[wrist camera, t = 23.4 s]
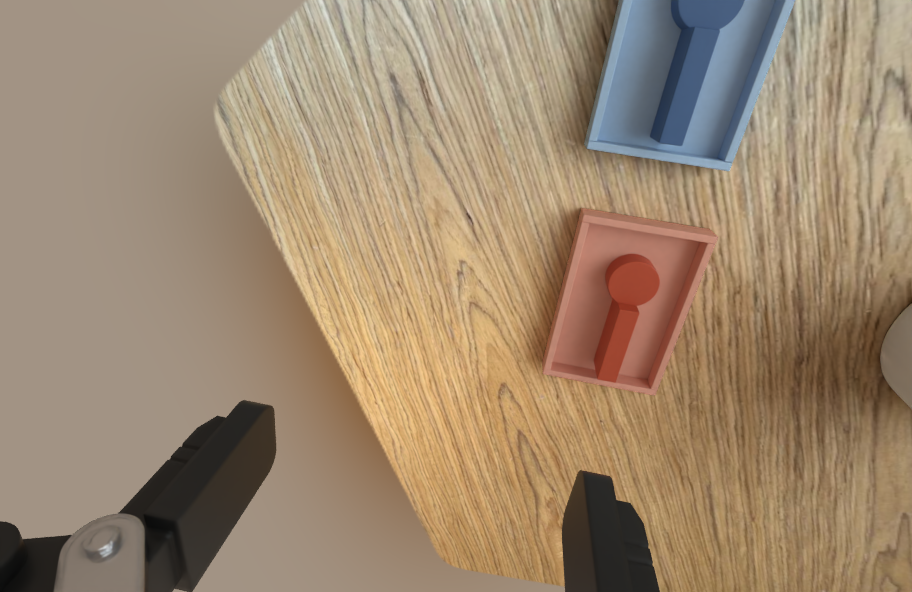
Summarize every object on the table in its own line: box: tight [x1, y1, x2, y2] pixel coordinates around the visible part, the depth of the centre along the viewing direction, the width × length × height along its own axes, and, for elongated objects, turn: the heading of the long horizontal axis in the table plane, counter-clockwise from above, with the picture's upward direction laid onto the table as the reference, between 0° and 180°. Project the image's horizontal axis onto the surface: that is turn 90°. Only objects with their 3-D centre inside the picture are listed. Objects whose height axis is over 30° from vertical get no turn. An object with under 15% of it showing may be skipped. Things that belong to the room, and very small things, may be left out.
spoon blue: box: [650, 0, 745, 146], centre depth 31 cm, size 11×4×3 cm, turn 173°
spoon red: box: [594, 254, 660, 383], centre depth 40 cm, size 11×4×3 cm, turn 173°
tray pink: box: [542, 208, 718, 395], centre depth 41 cm, size 15×10×2 cm
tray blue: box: [584, 0, 795, 171], centre depth 32 cm, size 15×10×2 cm
